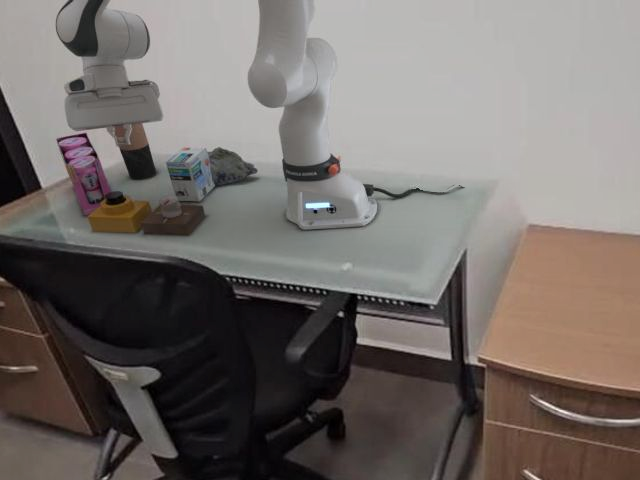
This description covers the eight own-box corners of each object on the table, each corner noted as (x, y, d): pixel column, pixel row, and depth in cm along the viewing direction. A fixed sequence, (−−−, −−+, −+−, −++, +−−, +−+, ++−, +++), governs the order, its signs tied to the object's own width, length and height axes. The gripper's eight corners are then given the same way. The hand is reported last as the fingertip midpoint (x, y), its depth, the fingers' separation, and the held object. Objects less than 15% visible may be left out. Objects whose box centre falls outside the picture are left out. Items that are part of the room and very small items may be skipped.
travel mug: (162, 172, 175) (141, 101, 163) (140, 182, 170) (117, 110, 158) (145, 167, 178) (123, 98, 166) (123, 176, 173) (99, 105, 161)
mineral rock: (261, 177, 170) (254, 142, 164) (239, 193, 162) (231, 157, 156) (221, 172, 174) (213, 138, 168) (199, 187, 165) (189, 152, 159)
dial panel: (205, 216, 151) (202, 204, 150) (188, 235, 143) (184, 223, 142) (163, 215, 153) (160, 203, 151) (144, 234, 145) (140, 222, 143)
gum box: (118, 210, 156) (100, 159, 148) (85, 218, 152) (64, 167, 144) (103, 179, 172) (86, 131, 164) (73, 185, 169) (54, 138, 161)
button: (128, 199, 148) (125, 191, 147) (120, 206, 145) (117, 198, 143) (113, 198, 148) (110, 190, 147) (104, 205, 145) (101, 198, 144)
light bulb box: (200, 202, 158) (189, 162, 151) (175, 201, 158) (164, 161, 152) (216, 185, 166) (207, 146, 160) (193, 184, 167) (182, 146, 161)
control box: (153, 215, 153) (146, 193, 149) (135, 232, 145) (127, 210, 142) (112, 214, 154) (104, 192, 150) (93, 231, 147) (84, 208, 143)
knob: (167, 209, 148) (163, 195, 146) (184, 209, 148) (180, 195, 146) (159, 217, 145) (155, 203, 142) (177, 218, 144) (173, 203, 142)
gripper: (157, 81, 144) (171, 141, 147) (63, 91, 139) (79, 153, 142) (154, 75, 138) (169, 137, 141) (55, 85, 133) (72, 150, 136)
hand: (123, 145), depth 141 cm, fingers closed
